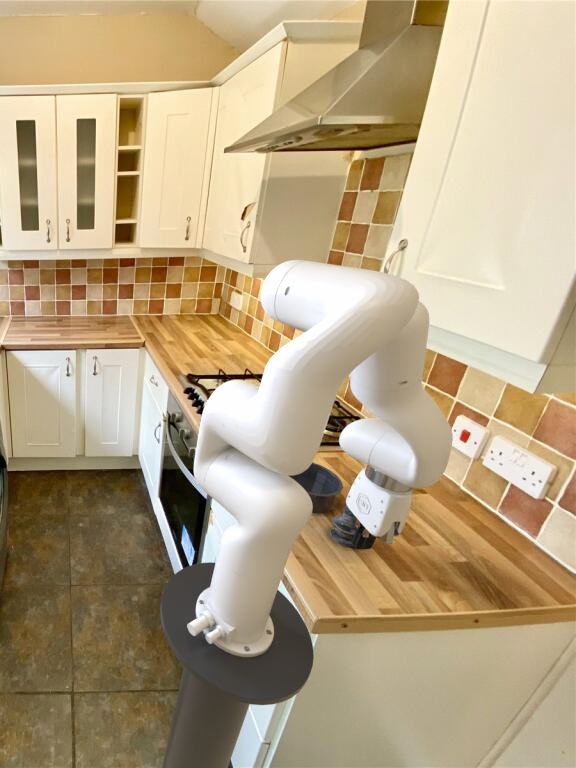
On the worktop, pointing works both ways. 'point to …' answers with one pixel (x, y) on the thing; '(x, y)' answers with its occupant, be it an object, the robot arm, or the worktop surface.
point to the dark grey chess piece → (344, 527)
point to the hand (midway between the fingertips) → (360, 546)
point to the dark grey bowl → (320, 487)
